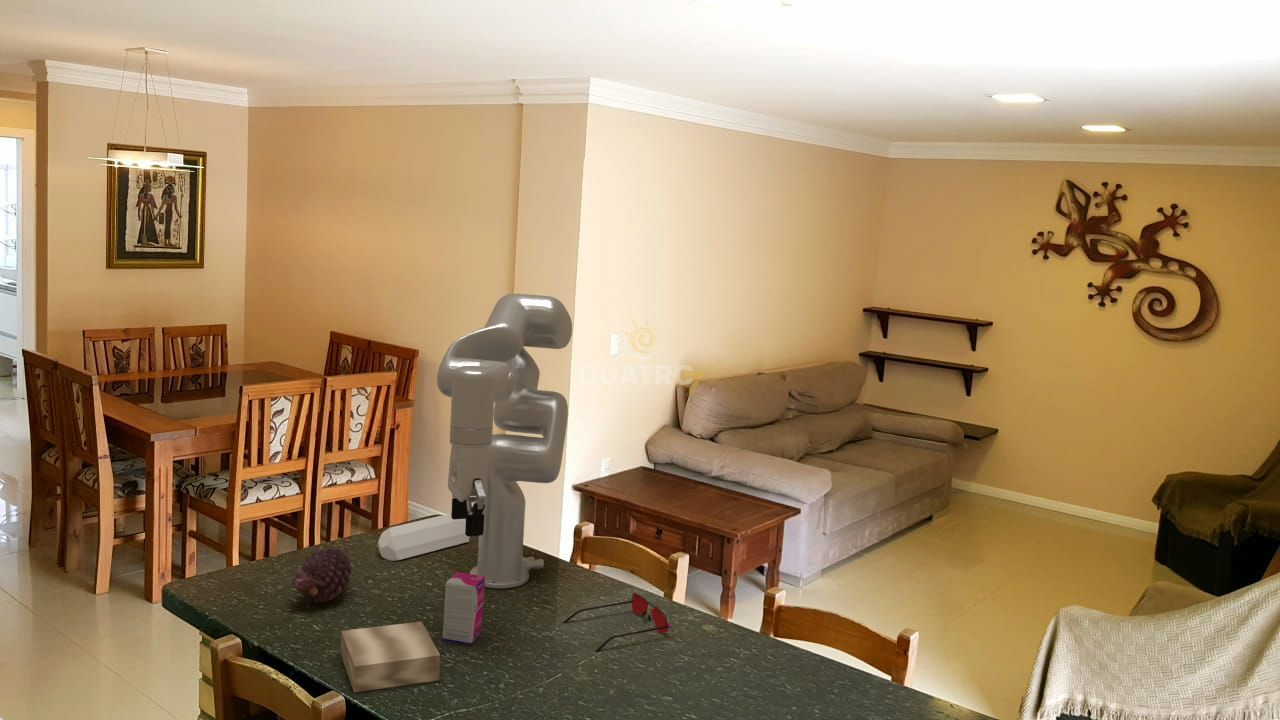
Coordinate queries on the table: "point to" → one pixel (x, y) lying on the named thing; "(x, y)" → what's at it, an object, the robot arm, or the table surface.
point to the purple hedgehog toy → (323, 575)
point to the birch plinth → (389, 656)
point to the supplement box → (463, 608)
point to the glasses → (638, 608)
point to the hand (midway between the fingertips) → (466, 526)
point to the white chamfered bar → (422, 537)
